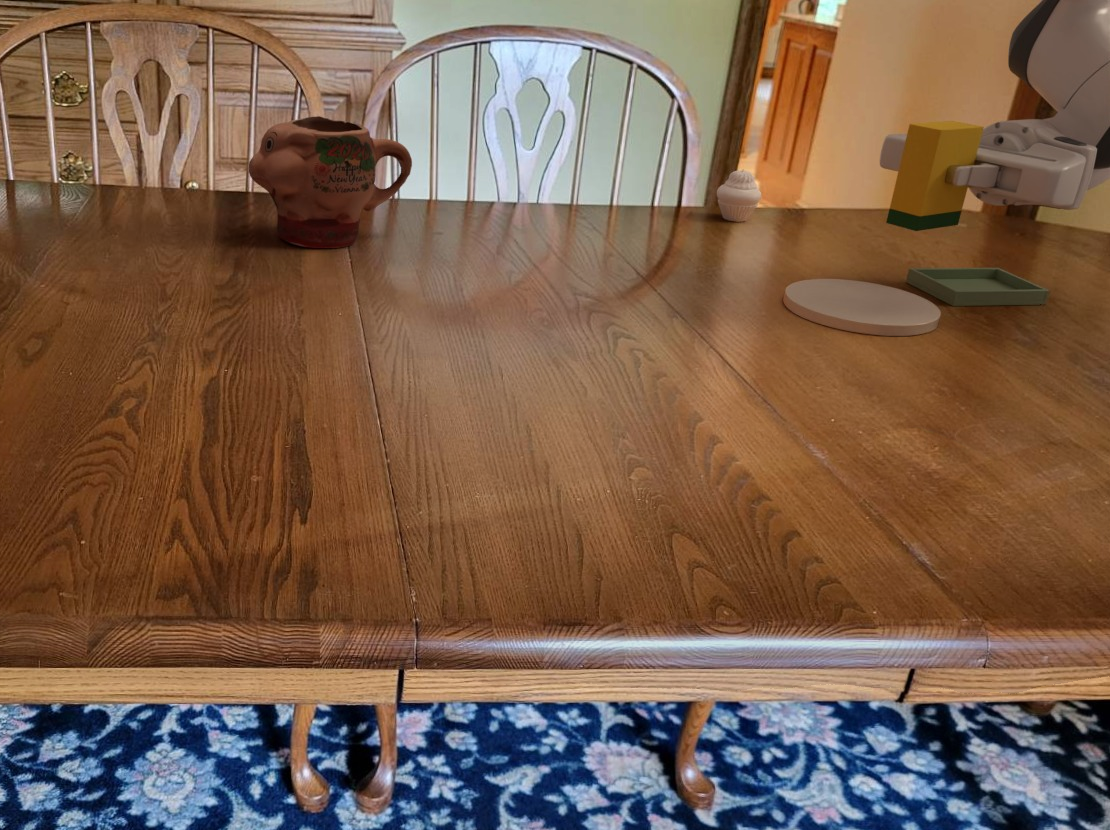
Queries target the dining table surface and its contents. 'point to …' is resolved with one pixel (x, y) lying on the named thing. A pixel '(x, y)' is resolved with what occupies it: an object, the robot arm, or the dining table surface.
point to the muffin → (738, 196)
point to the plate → (861, 307)
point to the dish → (977, 286)
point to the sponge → (932, 175)
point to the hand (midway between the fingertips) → (930, 171)
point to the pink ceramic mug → (323, 178)
